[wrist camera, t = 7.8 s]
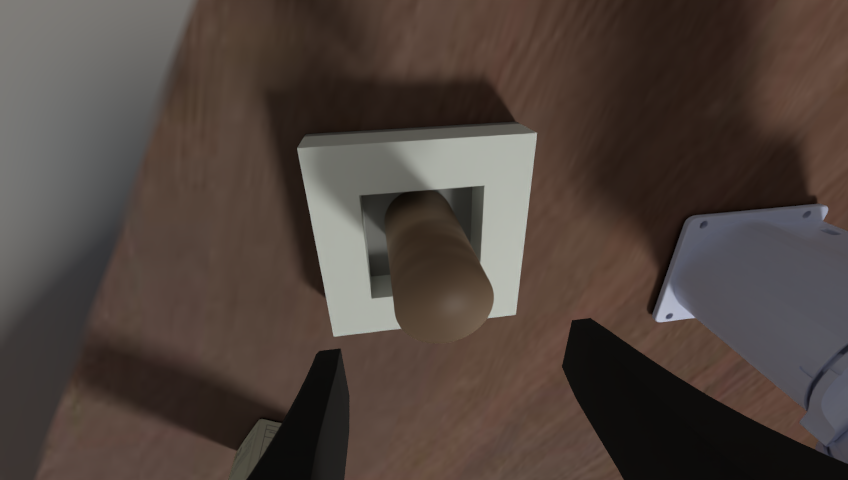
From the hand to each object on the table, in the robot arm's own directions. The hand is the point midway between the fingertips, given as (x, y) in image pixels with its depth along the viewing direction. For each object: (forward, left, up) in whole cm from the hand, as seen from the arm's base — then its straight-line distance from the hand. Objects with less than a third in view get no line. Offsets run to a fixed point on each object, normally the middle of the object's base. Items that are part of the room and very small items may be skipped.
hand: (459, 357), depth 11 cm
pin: (0, 0, -9) cm, 9 cm away
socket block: (0, 0, -10) cm, 10 cm away
